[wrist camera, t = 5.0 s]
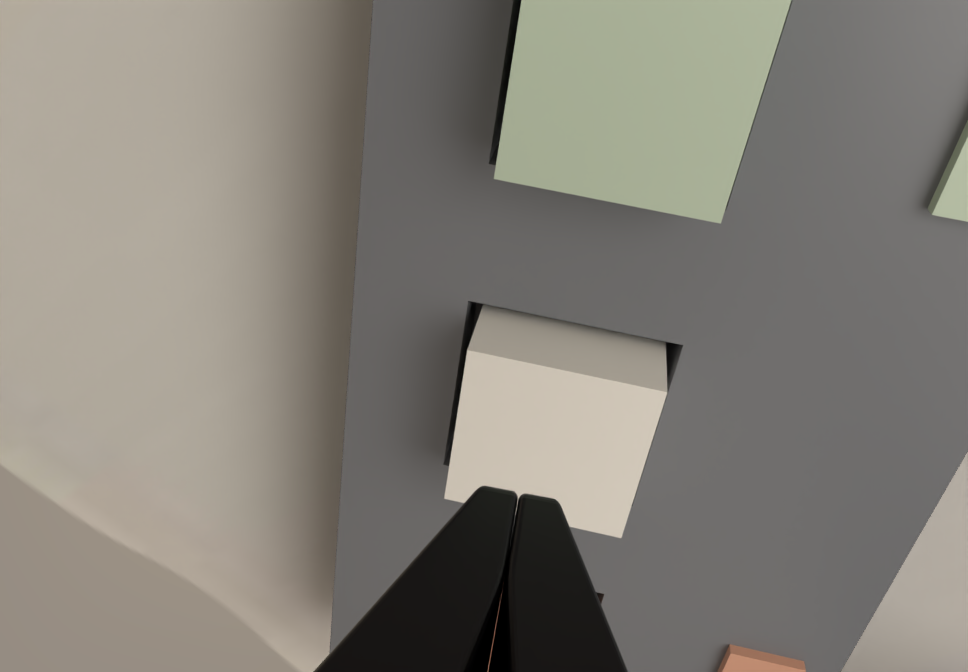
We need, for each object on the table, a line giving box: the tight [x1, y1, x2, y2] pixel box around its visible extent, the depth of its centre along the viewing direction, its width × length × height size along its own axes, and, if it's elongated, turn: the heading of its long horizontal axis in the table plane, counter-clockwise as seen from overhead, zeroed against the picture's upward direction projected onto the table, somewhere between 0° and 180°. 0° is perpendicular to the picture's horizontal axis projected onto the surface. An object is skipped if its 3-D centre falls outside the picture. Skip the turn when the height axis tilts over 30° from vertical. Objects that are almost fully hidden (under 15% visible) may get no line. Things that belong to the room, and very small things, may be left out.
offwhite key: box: [444, 304, 667, 538], centre depth 19 cm, size 4×4×2 cm
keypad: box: [330, 0, 968, 672], centre depth 21 cm, size 23×14×3 cm, turn 172°
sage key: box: [494, 0, 791, 224], centre depth 15 cm, size 4×4×2 cm
